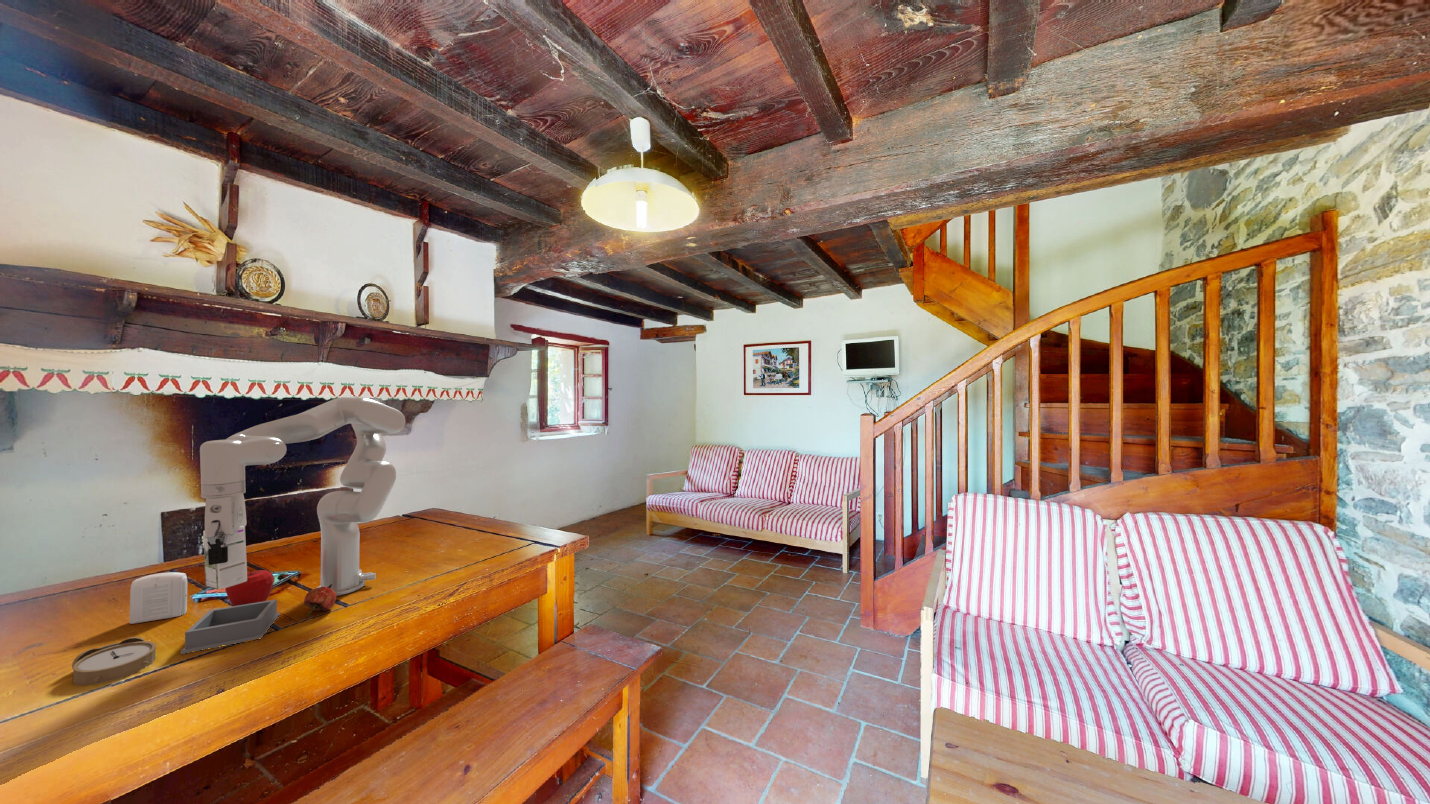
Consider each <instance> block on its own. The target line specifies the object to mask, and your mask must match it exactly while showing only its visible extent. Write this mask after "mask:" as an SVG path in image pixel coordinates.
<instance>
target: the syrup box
mask: <svg viewBox="0 0 1430 804" xmlns="http://www.w3.org/2000/svg"><path fill="white" fill-rule="evenodd" d="M220 527H221V526H220ZM202 533H203V534H202V535H203V552H204V553H203V556H204V557H203V558H204V576H205V577H204V578H205V579H204V580H205V587H207V588H211V589H214V590H218V591H219V590H220V591H221V590H223V589H224V590H225V588H227V587H230V586H234V585H237V584H240V583H243V582H246V581H247V572H248V566H247V565H248V563H247V562H248V561H247V547H246V546H247V545H246V544H247V543H246V541H247V540H246V526H245V527H243V526H241V527H239V531H238V532H237V533H236V534H234V535H231V536H230V535H229V534H228V536H227V541H226V546H228V561H227V562H226V563H220V564H213V565H209V563H208V544H207V541H208V540H207V537H206V535H205V529H204V530H203V531H202ZM219 534H224V532H218V533H217V535H219ZM217 539H220V541H222V538H217Z"/></svg>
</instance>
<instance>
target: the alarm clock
mask: <svg viewBox="0 0 1430 804" xmlns="http://www.w3.org/2000/svg"><path fill="white" fill-rule="evenodd" d="M156 644H157V643H155V642H153V641H146V640H145V639H144V638H143V637H139V636H134V637H133V636H131V637H128V638H126V639H123V640H122V641H120V642H117V643H116V642H115V643H112V644H107V645H104V646H102V647H101V646H100V647H96V648H90V649H87V650H84V651H83V652H81V653H79V654H78V655H77V656H76V657H75V658H74V659H73V661H72V664H71V667H72V670H73V678H72V683H73V684H74V685H75V686H93V685H99V684H103V683H107V682H108V683H109V682H111V681H115V680H117V679H121V678H124V677H127V676H130V675H133V674H136V673H137V672H139V671H141V669H142V670H143V669H145V667H146V666H147V667H149V666H150V665H152V664H153V663H154V662H155V661H156V649H157V645H156ZM147 667H146V668H147Z"/></svg>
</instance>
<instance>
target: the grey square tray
mask: <svg viewBox="0 0 1430 804" xmlns="http://www.w3.org/2000/svg"><path fill="white" fill-rule="evenodd" d="M277 602H278V600H277V599H271V600H266V601H263V602H257V603H251V604H245V605H238V606H233V605H232V606H225V607H221V608H215V609H210V610H209V611H207V612H206V613H205V614H204V615H202V617H200V619H199V620H198V621H196V622H195V623H194V624H193V625H192V626H191V627H189V629H187V630H185V632H184V633H185V634H184V636H185V637H184V639H185V640H184V644H185V645H184V647H183V648H181V650H180V655H181V654H183V655H186V654H185V653H188V652H192V651H198V652H200V651H199V650H202V649H203V650H204V649H208V648H214V649H217V648H216V647H219V646H222V645H230V644H234V643H240V642H243V641H246V640H254V639H259V638H262V637H263V635H264V634H265V633H266V631H267V630H268V629H269V628H270V626H271V625H272V624H273V622H274V621H275V620H276V619H277V618H278V619H279V617H280V616H279V615H281V613H280V612H278V611H277V610H278V609H277V605H278V603H277ZM278 616H279V617H278ZM278 619H277V620H278ZM277 620H276V621H277ZM276 621H275V622H276ZM275 622H274V623H275ZM273 625H274V624H273ZM273 625H272V626H273ZM272 626H271V627H272ZM270 629H271V628H270ZM270 629H269V630H270ZM269 630H268V631H269ZM266 634H267V633H266ZM266 634H265V635H266ZM263 638H264V637H263ZM263 638H262V639H263ZM240 644H241V643H240ZM230 646H231V645H230ZM219 648H220V647H219ZM204 651H205V650H204ZM188 654H189V653H188Z"/></svg>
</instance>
